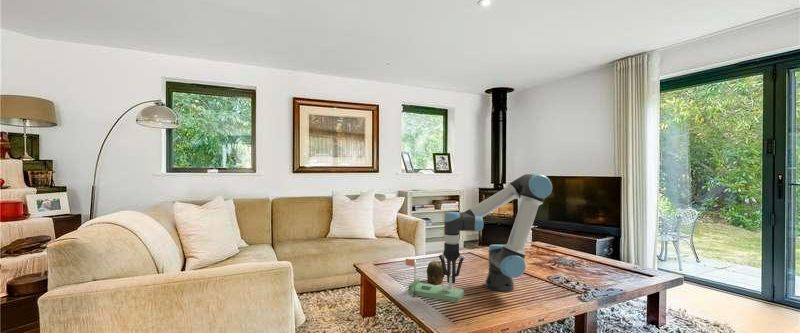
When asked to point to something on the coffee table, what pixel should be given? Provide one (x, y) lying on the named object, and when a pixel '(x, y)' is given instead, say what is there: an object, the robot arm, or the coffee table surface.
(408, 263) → the flag pin
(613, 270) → the coffee table surface
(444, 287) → the ball
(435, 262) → the ribbed round cactus
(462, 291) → the mat
